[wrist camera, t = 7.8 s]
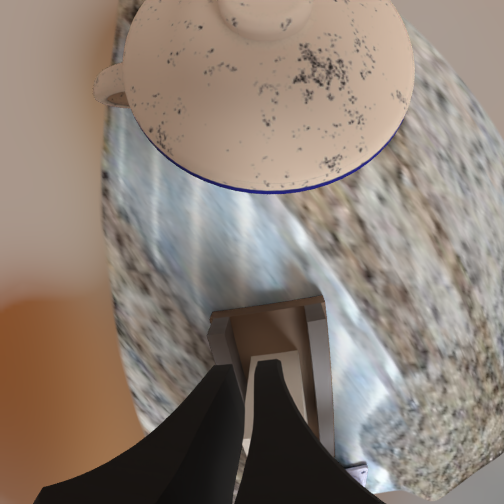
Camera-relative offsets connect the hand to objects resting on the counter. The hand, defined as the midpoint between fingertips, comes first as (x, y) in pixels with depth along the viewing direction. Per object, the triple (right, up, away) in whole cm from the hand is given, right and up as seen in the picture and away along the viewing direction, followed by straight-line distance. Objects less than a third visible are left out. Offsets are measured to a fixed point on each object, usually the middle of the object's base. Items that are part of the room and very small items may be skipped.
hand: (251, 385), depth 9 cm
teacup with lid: (0, +13, +6) cm, 14 cm away
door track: (+2, -7, +11) cm, 13 cm away
